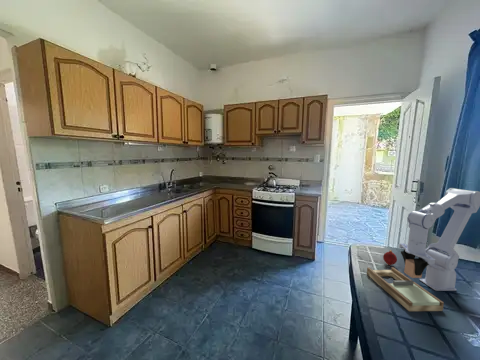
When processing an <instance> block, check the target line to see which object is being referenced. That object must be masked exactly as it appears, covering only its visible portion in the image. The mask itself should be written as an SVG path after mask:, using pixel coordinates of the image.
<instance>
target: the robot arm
mask: <svg viewBox="0 0 480 360" xmlns="http://www.w3.org/2000/svg"><path fill="white" fill-rule="evenodd" d="M449 208H451V209H452V210H453V213H452V215H451V217H450V219H449V220H448V223H447V225H446V226H445V228H444V230H443V232H442V234H441V236H440V238H439V240H438V241H437V242H435V243H434V242H433V243H429V244H428V246H427V241H428V237H429V236H428V234H429V230H430V228H432V227H433V225H434V223H436V220H437V219H438V218H440V217H441V216H443V215H444V214H445V212H446V211H445V210H447V209H449ZM479 208H480V191H478V190H466V189H460V188H454V187H449V188H448V189H447V190H446V191H445V193H444V196H443V197H442V198H440V199H439V200H438V201H437V202H430V203H428V204H427V205H425V206H424V207H422V208H420V209H419V210H413V211H411V212H409V214H408V215H407V216H408V217H407V216H406V217H407V224H408V228H409V230H408V231H409V232H408V239H407V244H405V243H399V244H398V249H402V250H401V251H400V254H401V255H402V259H403V263H405V262H406V259H414V263H415V275H421V274H422V275H423V272H424V271H425V269H426V271H425V277H424V278H419V281H420V282H422V283H424V284H425V285H426V286H428V287H430V288H431V289H432V290H434V291H436V292H437V291H438V292H439V291H440V292H442V291H444V292H445V291H446V292H447V291H448V292H449V291H451V292H452V291H457V288H455V286H456V280H457V272H456V270H455V269H457V267H458V262H459V259H460V255H459V254H458V252H457V251H456V250H455V246H456V244H457V243H458V241H459V239H460V237H461V235H462V233H463V231H464V229H465V227H466V226H467V223H468V222H469V220H470V218H471V217H472V214H476V213H478V210H479Z"/></svg>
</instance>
